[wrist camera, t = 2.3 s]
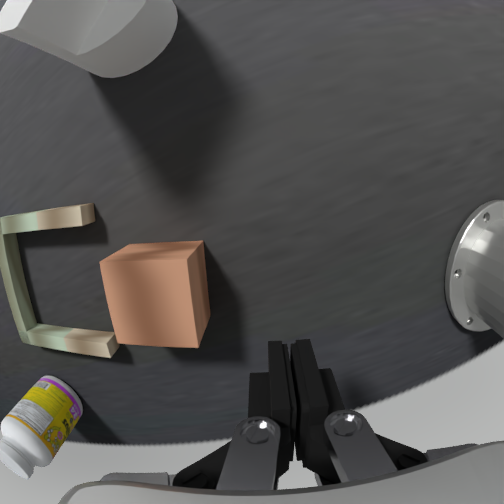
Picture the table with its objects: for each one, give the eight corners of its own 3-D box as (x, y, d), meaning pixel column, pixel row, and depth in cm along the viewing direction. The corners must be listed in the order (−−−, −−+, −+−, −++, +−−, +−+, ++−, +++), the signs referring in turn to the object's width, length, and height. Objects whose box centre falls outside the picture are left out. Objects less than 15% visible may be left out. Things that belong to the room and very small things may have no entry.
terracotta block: (203, 240, 22) (186, 259, 17) (210, 314, 24) (198, 347, 19) (130, 243, 22) (99, 261, 17) (142, 313, 24) (117, 343, 19)
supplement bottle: (79, 422, 29) (35, 491, 16) (39, 391, 28) (-12, 452, 15) (90, 398, 27) (37, 477, 15) (45, 363, 26) (-18, 430, 14)
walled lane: (93, 202, 21) (80, 206, 19) (119, 346, 25) (110, 357, 23) (5, 216, 22) (-8, 219, 20) (32, 334, 25) (22, 342, 23)
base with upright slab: (145, 88, 19) (48, 32, 7) (66, 69, 18) (-31, 35, 7) (197, -3, 17) (153, -98, 5) (113, -12, 16) (46, -76, 5)
